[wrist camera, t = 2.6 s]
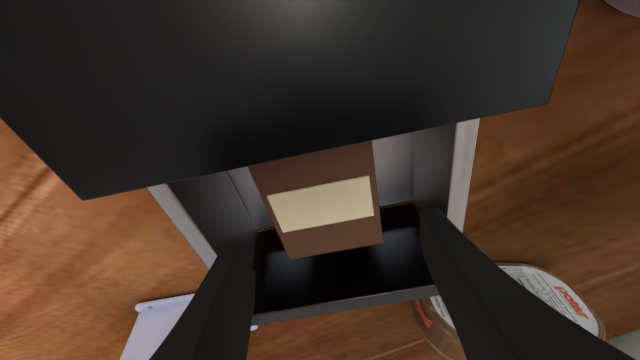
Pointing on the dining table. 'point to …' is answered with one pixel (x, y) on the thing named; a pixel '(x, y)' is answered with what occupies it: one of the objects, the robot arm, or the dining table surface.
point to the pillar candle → (626, 6)
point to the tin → (535, 279)
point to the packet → (322, 200)
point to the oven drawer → (341, 266)
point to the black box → (258, 78)
